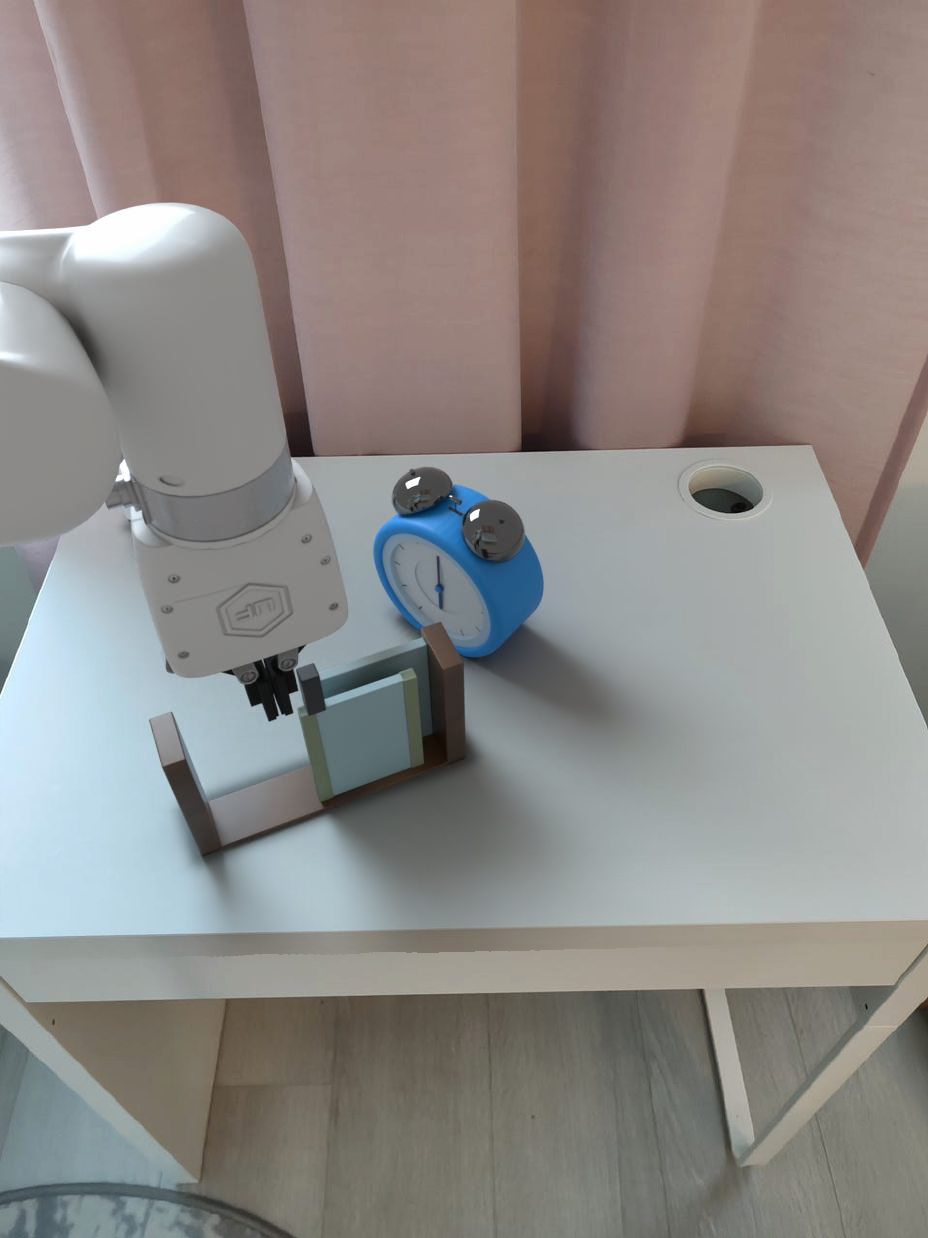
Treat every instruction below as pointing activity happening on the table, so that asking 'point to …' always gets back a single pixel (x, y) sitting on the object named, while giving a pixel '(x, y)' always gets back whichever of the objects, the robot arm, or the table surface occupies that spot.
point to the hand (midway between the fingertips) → (274, 700)
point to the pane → (359, 730)
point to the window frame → (296, 789)
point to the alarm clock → (457, 562)
